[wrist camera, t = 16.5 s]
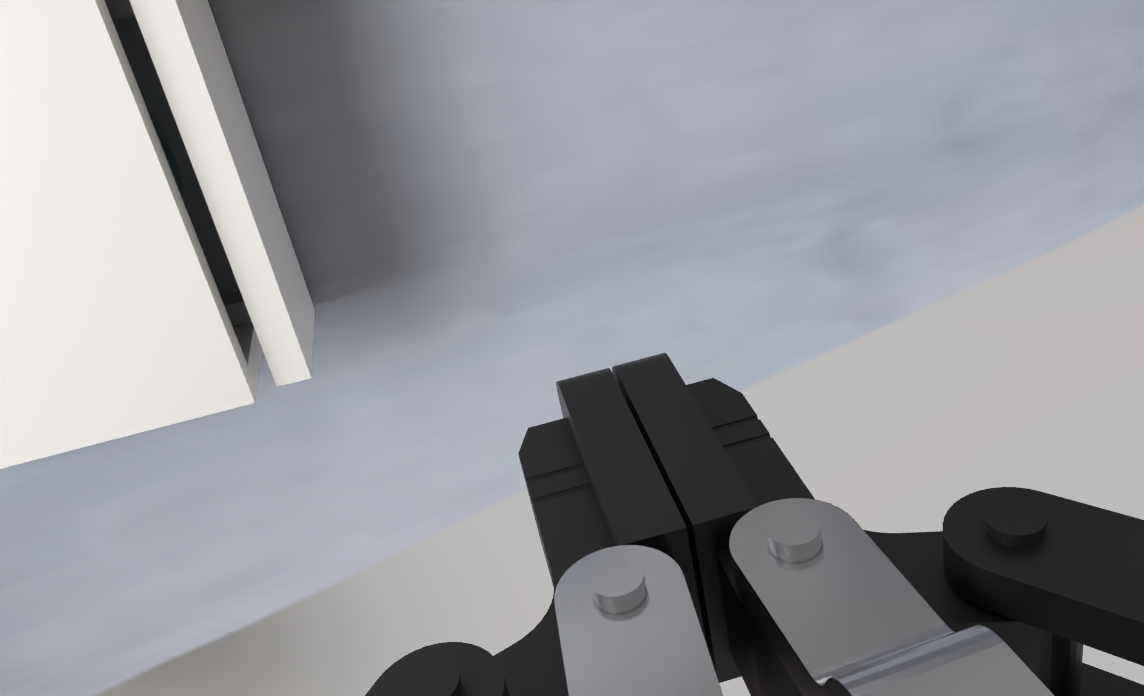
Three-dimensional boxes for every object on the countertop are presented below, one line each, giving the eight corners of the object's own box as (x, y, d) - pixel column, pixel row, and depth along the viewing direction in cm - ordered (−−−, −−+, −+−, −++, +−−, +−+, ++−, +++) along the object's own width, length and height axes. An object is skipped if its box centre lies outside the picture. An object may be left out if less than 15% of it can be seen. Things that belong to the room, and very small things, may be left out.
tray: (-104, 415, 33) (-165, 501, 29) (-334, 32, 27) (-453, 72, 23) (314, 310, 34) (311, 378, 30) (180, -81, 28) (153, -62, 24)
